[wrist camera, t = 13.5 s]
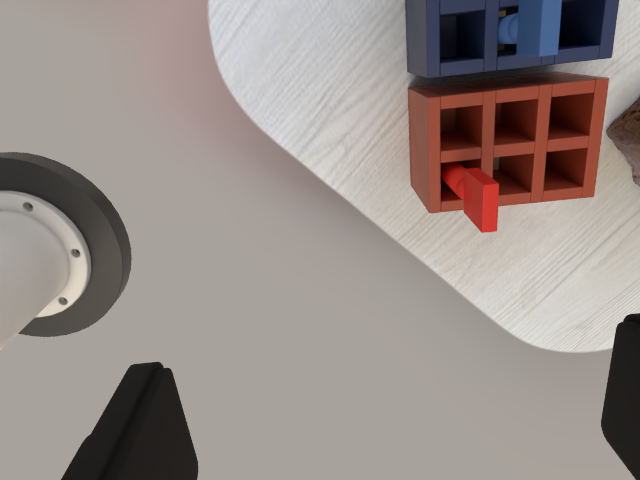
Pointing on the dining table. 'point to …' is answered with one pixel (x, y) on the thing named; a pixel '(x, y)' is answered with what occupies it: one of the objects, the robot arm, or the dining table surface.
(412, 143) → the red caddy
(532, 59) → the blue caddy
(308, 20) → the dining table surface
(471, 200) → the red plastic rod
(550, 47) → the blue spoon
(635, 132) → the food item
